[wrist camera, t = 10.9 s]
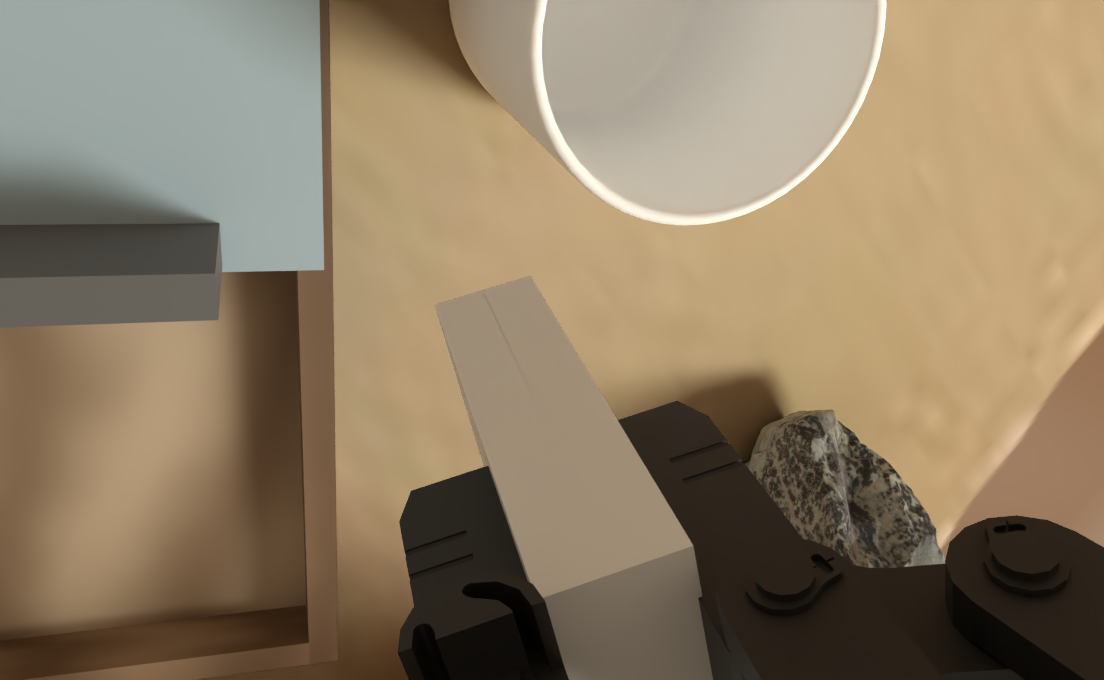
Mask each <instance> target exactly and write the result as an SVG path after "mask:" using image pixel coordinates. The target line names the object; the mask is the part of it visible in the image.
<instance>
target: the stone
mask: <svg viewBox="0 0 1104 680" xmlns="http://www.w3.org/2000/svg"><path fill="white" fill-rule="evenodd" d="M743 465H744V464H743ZM745 465H746V466H747V467H748V468H749V470H750V471H751V472H752V474H753V475H754V476H755V477H756V479H757V480H758V481H759V483H760V484H761V485H762V487H763V488H764V489H765V490H766V492H767V493H768V494H769V496H770V497H771V498H772V499H773V501H774V502H775V503H776V505H777V506H778V507H779V508H780V510H781V511H782V512H783V514H784V515H785V516H786V518H787V519H788V520H789V521H790V523H791V524H792V525H793V527H794V528H795V529H796V530H797V532H798V533H799V534H800V536H801V537H802V538H803V539H807V540H811V541H813V542H816V543H819V544H821V545H824V546H827V547H830V548H832V549H833V550H835V551H836V552H837V553H838V554H840V555H841V556H842V557H843V558H844V559H846V560H847V561H848V562H849V563H850V564H851V565H856V566H862V567H868V568H897V567H909V566H921V565H932V564H944V563H945V559H944V554H943V552H942V551H941V549H940V548H939V546H938V543H937V539H936V528H935V527H934V525H933V523H932V521H931V519H930V518H929V515H928V513H927V512H926V510H925V509H924V508H923V506H922V504H921V502H920V501H919V500H918V499H917V498H916V497H915V496H914V494H913V491H912V490H911V489H910V488H909V487H908V486H907V485H906V484H905V483H904V481H903V480H902V478H901V477H900V475H899V474H898V473H897V472H896V471H895V470H894V468H893V467H892V466H891V465H890V464H889V463H888V462H887V461H886V460H885V459H884V458H882V457H881V456H879V455H878V454H877V453H875V452H874V451H872V450H871V449H869V448H868V447H867V446H866V445H863V444H861V443H860V441H859V440H858V438H857V436H856V435H855V433H854V432H852V431H851V430H849V429H848V428H846V427H845V426H844V425H843V424H842V423H841V422H839V421H838V420H836V417H835V413H834V411H833V410H815V411H798V412H795V413H792V414H790V415H788V416H786V417H784V418H782V419H780V420H777V421H774V422H771V423H769V424H767V425H766V426H764V427H763V428H762V430H761V431H760V434H759V436H758V438H757V442H756V444H755V446H754V448H753V451H752V455H751V459H750V461H749V462H747V463H745Z"/></svg>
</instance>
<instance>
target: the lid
mask: <svg viewBox="0 0 1104 680" xmlns="http://www.w3.org/2000/svg"><path fill="white" fill-rule="evenodd" d="M302 270H324V231H323V174H322V118H321V62H320V5H319V0H0V328H3V327H33V326H62V325H91V324H120V323H149V322H178V321H208V320H218V318H219V305H220V291H221V277H222V272H254V271H302Z"/></svg>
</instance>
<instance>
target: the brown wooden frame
mask: <svg viewBox="0 0 1104 680" xmlns="http://www.w3.org/2000/svg"><path fill="white" fill-rule="evenodd" d="M319 5H320V62H321V118H322V174H323V231H324V270H302V271H254V272H222V277H221V291H220V305H219V318H218V320H208V321H178V322H149V323H120V324H91V325H62V326H33V327H3V328H0V680H198V679H205V678H213V677H220V676H227V675H235V674H242V673H250V672H257V671H265V670H272V669H279V668H287V667H294V666H302V665H309V664H317V663H324V662H331V661H338V616H337V542H336V469H335V395H334V321H333V248H332V174H331V100H330V27H329V0H319Z"/></svg>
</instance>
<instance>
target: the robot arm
mask: <svg viewBox="0 0 1104 680" xmlns="http://www.w3.org/2000/svg"><path fill="white" fill-rule="evenodd" d="M435 308H436V311H437V314H438V317H439V321H440V324H441V327H442V330H443V334H444V337H445V340H446V343H447V347H448V350H449V353H450V357H451V360H452V363H453V366H454V370H455V373H456V376H457V379H458V383H459V386H460V389H461V393H462V396H463V399H464V402H465V406H466V409H467V412H468V415H469V419H470V422H471V425H472V428H473V432H474V435H475V438H476V442H477V445H478V448H479V451H480V454H481V457H482V460H483V463H484V466H485V467H483V468H480V469H477V470H474V471H471V472H467V473H464V474H461V475H458V476H455V477H452V478H449V479H446V480H443V481H440V482H437V483H434V484H431V485H428V486H425V487H422V488H419V489H416V490H413V491H411V493H410V495H409V498H408V501H407V503H406V506H405V508H404V511H403V514H402V516H401V519H400V521H399V522H400V528H401V533H402V539H403V545H404V550H405V554H406V562H407V567H408V573H409V577H410V584H411V590H412V596H413V601H414V608H413V609H412V611H411V613H410V614H409V616H408V618H407V620H406V621H405V623H404V625H403V626H402V628H401V630H400V638H399V648H398V654H399V657H400V659H401V661H402V664H403V666H404V669H405V671H406V674H407V676H408V678H409V680H1104V547H1102V546H1100V545H1098V544H1096V543H1095V542H1093V541H1091V540H1089V539H1088V538H1086V537H1084V536H1082V535H1081V534H1079V533H1077V532H1075V531H1073V530H1070V529H1068V528H1065V527H1063V526H1060V525H1058V524H1055V523H1053V522H1051V521H1048V520H1043V519H1036V518H1029V517H1023V516H1007V517H997V518H988V519H986V520H983V521H980V522H978V523H975V524H973V525H970V526H967V527H965V528H964V529H963V530H962V531H961V532H960V533H959V534H958V535H957V536H956V537H955V538H954V539H953V540H952V541H951V542H950V543H949V548H948V552H947V556H946V560H945V563H944V564H932V565H921V566H909V567H897V568H868V567H862V566H856V565H851V564H850V563H849V562H848V561H847V560H846V559H844V558H843V557H842V556H841V555H840V554H838V553H837V552H836V551H835V550H833V549H832V548H830V547H827V546H824V545H821V544H819V543H816V542H813V541H811V540H807V539H803V538H802V537H801V536H800V534H799V533H798V532H797V530H796V529H795V528H794V527H793V525H792V524H791V523H790V521H789V520H788V519H787V518H786V516H785V515H784V514H783V512H782V511H781V510H780V508H779V507H778V506H777V505H776V503H775V502H774V501H773V499H772V498H771V497H770V496H769V494H768V493H767V492H766V490H765V489H764V488H763V487H762V485H761V484H760V483H759V481H758V480H757V479H756V477H755V476H754V475H753V474H752V472H751V471H750V470H749V468H748V467H747V466H746V465H745V464H744V465H743V463H742V460H741V458H740V457H739V456H738V454H737V453H736V452H735V450H734V449H733V448H732V446H731V445H728V444H727V440H726V439H725V437H724V436H723V435H722V434H721V432H720V431H719V430H718V428H717V427H716V426H715V425H714V423H713V422H712V421H711V419H710V418H709V417H708V416H706V415H704V414H702V413H700V412H698V411H696V410H694V409H692V408H690V407H688V406H686V405H684V404H682V403H680V402H678V401H675V402H672V403H669V404H666V405H663V406H660V407H657V408H654V409H651V410H648V411H645V412H642V413H639V414H636V415H633V416H630V417H627V418H624V419H620V420H617V418H616V417H615V415H614V414H613V412H612V410H611V409H610V407H609V405H608V404H607V402H606V400H605V399H604V397H603V395H602V394H601V392H600V390H599V389H598V387H597V385H596V384H595V382H594V380H593V379H592V377H591V375H590V374H589V372H588V371H587V369H586V367H585V366H584V364H583V362H582V361H581V359H580V357H579V356H578V354H577V352H576V351H575V349H574V347H573V346H572V344H571V342H570V341H569V339H568V337H567V336H566V334H565V332H564V331H563V329H562V327H561V326H560V324H559V323H558V321H557V319H556V318H555V316H554V314H553V313H552V311H551V309H550V308H549V306H548V304H547V303H546V301H545V299H544V298H543V296H542V294H541V293H540V291H539V289H538V288H537V286H536V284H535V283H534V281H533V279H532V278H531V276H528V277H524V278H521V279H518V280H514V281H511V282H508V283H505V284H501V285H498V286H495V287H491V288H488V289H485V290H482V291H478V292H475V293H472V294H468V295H465V296H462V297H459V298H455V299H452V300H449V301H445V302H442V303H439V304H436V305H435Z"/></svg>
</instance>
